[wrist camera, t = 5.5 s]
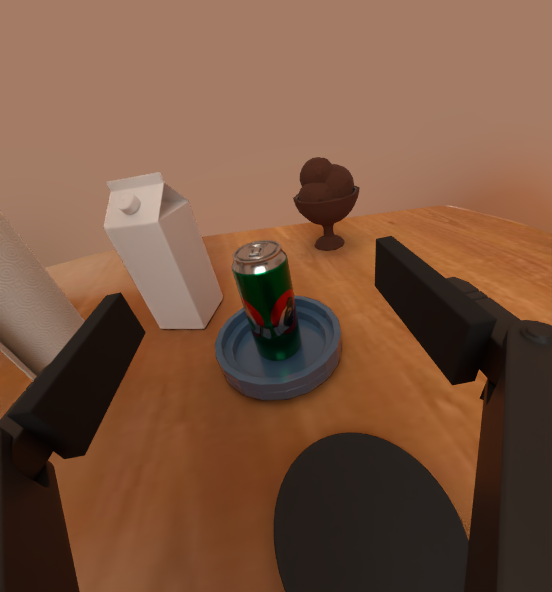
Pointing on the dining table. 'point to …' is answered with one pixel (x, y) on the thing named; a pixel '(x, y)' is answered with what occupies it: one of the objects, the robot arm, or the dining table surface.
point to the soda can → (268, 298)
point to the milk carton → (162, 251)
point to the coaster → (366, 522)
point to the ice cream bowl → (326, 198)
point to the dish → (288, 373)
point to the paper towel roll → (31, 307)
